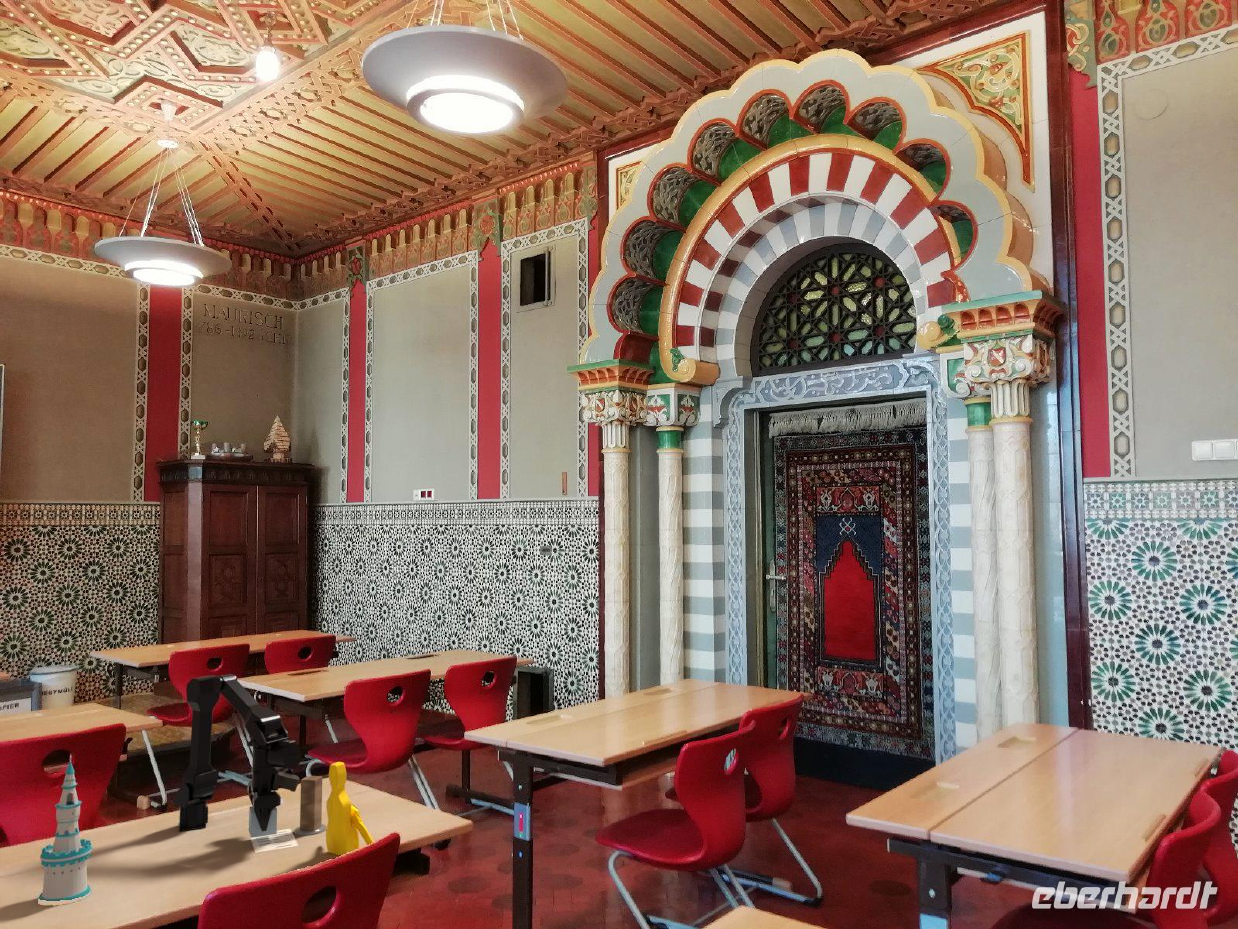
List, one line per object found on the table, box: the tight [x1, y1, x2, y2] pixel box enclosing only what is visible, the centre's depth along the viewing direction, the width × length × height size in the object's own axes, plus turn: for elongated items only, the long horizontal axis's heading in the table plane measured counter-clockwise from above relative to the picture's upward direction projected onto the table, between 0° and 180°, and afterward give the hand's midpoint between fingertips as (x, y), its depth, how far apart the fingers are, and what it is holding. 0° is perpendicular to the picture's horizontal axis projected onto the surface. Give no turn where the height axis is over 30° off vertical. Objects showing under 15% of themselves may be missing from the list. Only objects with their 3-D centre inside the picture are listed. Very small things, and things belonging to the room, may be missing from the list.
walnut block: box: [299, 775, 323, 831], centre depth 233 cm, size 4×4×13 cm
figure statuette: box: [325, 761, 375, 856], centre depth 216 cm, size 18×8×22 cm, turn 56°
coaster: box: [293, 824, 327, 836], centre depth 232 cm, size 8×8×1 cm
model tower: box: [38, 753, 93, 901], centre depth 192 cm, size 10×10×30 cm
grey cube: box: [248, 805, 278, 839], centre depth 225 cm, size 6×6×6 cm
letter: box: [249, 828, 299, 854], centre depth 225 cm, size 10×15×1 cm, turn 27°
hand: (262, 827), depth 225 cm, fingers closed on grey cube, 6 cm apart
